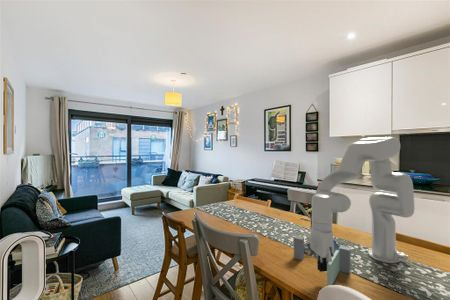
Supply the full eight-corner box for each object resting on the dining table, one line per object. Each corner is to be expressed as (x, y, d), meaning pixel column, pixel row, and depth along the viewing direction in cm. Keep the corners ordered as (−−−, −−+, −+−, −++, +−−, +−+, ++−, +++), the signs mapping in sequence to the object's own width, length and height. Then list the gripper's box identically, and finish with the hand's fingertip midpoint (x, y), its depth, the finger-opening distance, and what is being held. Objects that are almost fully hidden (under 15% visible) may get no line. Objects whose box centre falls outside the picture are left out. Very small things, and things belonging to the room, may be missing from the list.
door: (336, 270, 96) (336, 249, 96) (339, 271, 95) (339, 250, 95) (327, 287, 85) (327, 263, 84) (330, 288, 84) (330, 264, 84)
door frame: (350, 270, 96) (350, 247, 96) (349, 273, 94) (349, 250, 94) (295, 255, 110) (295, 235, 110) (294, 257, 108) (293, 237, 108)
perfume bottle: (332, 253, 112) (332, 230, 112) (338, 259, 106) (338, 234, 106) (320, 253, 112) (320, 230, 112) (326, 259, 106) (326, 235, 106)
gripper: (303, 220, 95) (304, 261, 96) (324, 233, 81) (325, 282, 81) (319, 218, 97) (319, 260, 97) (343, 231, 82) (343, 280, 82)
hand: (322, 270), depth 89 cm, fingers closed
